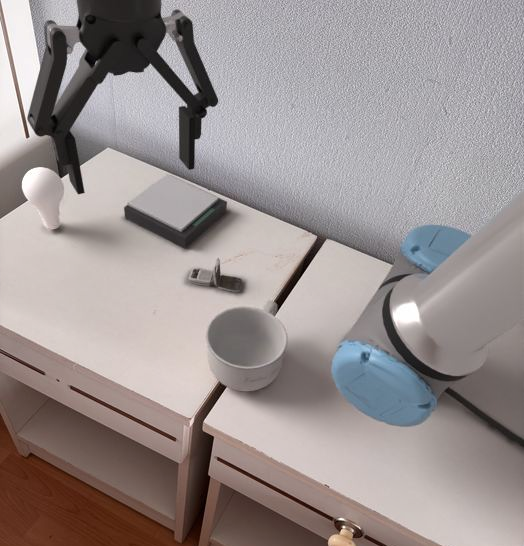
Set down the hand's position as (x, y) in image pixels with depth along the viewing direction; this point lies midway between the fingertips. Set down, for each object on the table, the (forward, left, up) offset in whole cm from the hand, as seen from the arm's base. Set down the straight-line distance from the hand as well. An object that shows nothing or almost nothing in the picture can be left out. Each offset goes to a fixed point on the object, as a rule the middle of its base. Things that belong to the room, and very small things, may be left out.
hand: (134, 175), depth 61 cm
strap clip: (-6, -11, -23) cm, 26 cm away
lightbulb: (+23, -5, -23) cm, 33 cm away
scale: (+9, -21, -23) cm, 33 cm away
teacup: (-19, 0, -23) cm, 30 cm away
